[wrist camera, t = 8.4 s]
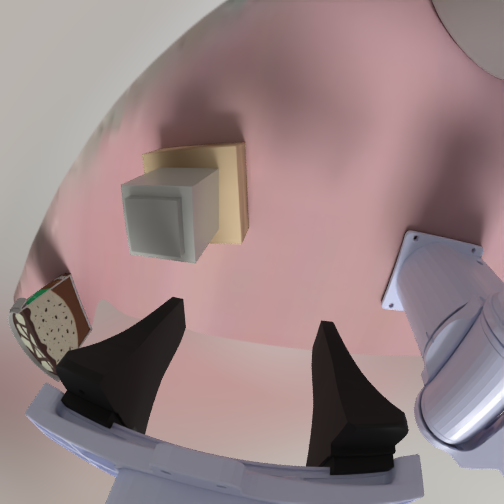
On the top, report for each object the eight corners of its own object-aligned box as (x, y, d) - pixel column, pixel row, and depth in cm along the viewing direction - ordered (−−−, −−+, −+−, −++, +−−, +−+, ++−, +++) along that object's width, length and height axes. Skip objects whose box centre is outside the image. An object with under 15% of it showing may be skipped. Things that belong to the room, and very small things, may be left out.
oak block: (245, 141, 20) (236, 146, 17) (249, 226, 23) (241, 244, 20) (163, 148, 21) (142, 154, 18) (172, 225, 24) (155, 241, 21)
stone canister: (218, 168, 18) (187, 189, 13) (218, 229, 20) (191, 268, 15) (160, 167, 18) (114, 187, 13) (163, 224, 20) (125, 258, 15)
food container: (41, 259, 30) (-7, 298, 21) (67, 263, 29) (15, 309, 20) (68, 327, 35) (33, 369, 26) (95, 336, 34) (60, 384, 26)
